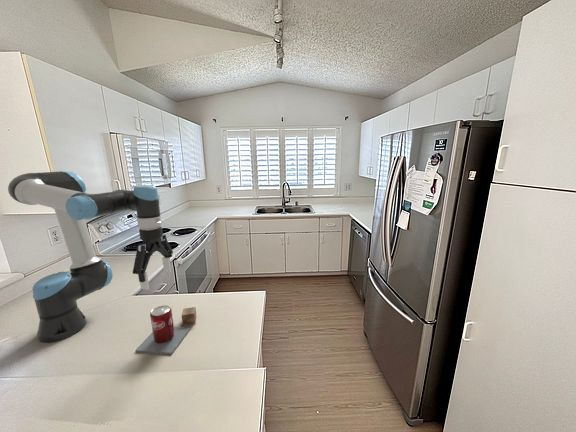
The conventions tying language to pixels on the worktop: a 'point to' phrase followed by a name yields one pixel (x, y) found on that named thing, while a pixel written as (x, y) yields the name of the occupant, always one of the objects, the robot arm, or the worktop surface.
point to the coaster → (167, 347)
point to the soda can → (162, 324)
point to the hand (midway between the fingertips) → (157, 280)
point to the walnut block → (189, 316)
